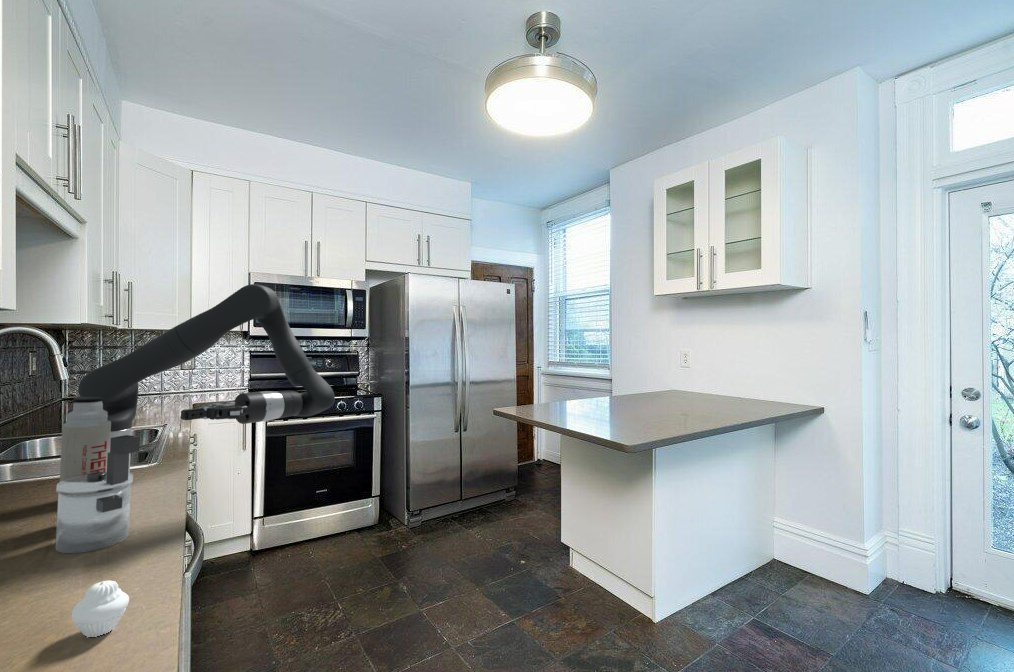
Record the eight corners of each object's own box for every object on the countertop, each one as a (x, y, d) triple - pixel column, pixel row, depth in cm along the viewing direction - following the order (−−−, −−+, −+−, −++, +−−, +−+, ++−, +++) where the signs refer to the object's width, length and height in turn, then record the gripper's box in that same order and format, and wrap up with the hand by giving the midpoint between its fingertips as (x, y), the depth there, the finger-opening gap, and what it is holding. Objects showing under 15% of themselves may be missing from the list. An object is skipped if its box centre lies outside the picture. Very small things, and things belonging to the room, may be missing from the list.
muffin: (77, 625, 66) (80, 576, 66) (131, 613, 69) (134, 567, 69) (64, 650, 61) (66, 597, 61) (123, 637, 64) (125, 586, 64)
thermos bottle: (112, 523, 102) (118, 397, 103) (64, 535, 95) (70, 400, 96) (99, 515, 106) (104, 394, 107) (52, 526, 100) (58, 397, 100)
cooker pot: (47, 543, 91) (50, 488, 92) (116, 525, 101) (118, 475, 101) (72, 562, 84) (75, 502, 84) (144, 541, 93) (146, 487, 94)
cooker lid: (40, 491, 89) (42, 438, 89) (103, 475, 100) (105, 428, 100) (99, 498, 86) (101, 443, 86) (157, 481, 97) (159, 432, 98)
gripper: (245, 390, 119) (168, 395, 104) (275, 393, 112) (198, 400, 97) (244, 419, 119) (167, 429, 104) (274, 424, 112) (197, 435, 97)
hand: (182, 415), depth 101 cm, fingers closed
